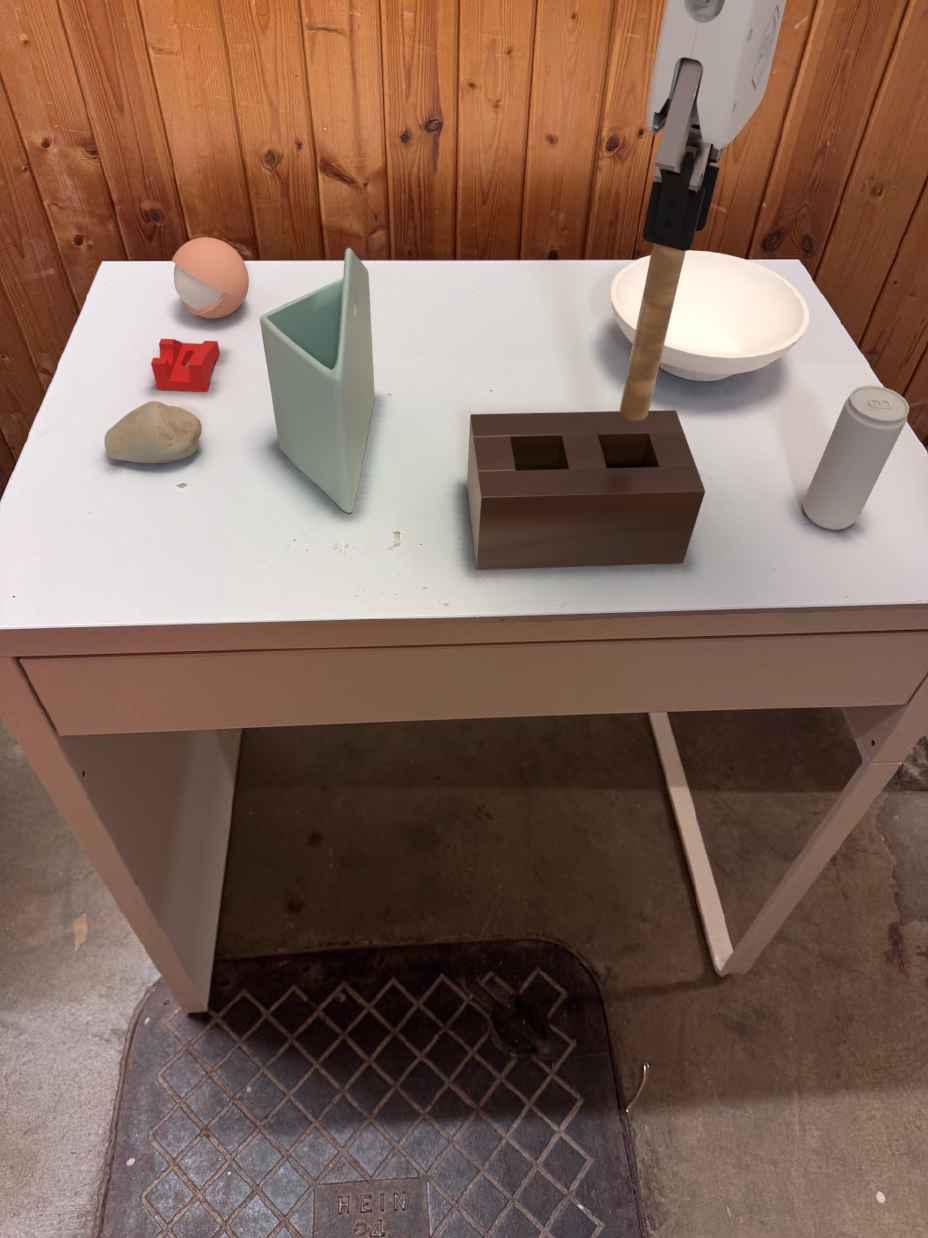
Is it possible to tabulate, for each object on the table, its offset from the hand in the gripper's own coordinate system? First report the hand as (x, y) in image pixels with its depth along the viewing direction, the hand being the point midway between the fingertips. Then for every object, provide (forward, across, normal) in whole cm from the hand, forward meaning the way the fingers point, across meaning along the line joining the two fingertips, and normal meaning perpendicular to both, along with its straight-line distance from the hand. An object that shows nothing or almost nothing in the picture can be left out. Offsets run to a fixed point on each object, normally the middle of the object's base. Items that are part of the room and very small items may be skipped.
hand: (674, 231), depth 60 cm
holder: (+26, -2, +3) cm, 26 cm away
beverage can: (+26, +10, -17) cm, 33 cm away
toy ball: (+26, +10, +49) cm, 57 cm away
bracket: (+26, 0, +45) cm, 52 cm away
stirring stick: (+15, 0, 0) cm, 15 cm away
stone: (+26, -11, +40) cm, 49 cm away
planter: (+26, -4, +27) cm, 38 cm away
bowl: (+26, +27, +1) cm, 38 cm away
